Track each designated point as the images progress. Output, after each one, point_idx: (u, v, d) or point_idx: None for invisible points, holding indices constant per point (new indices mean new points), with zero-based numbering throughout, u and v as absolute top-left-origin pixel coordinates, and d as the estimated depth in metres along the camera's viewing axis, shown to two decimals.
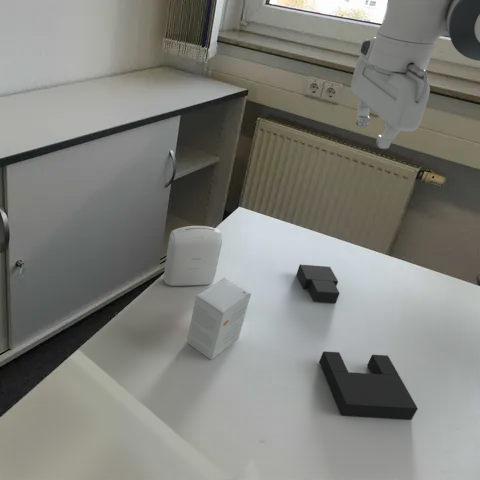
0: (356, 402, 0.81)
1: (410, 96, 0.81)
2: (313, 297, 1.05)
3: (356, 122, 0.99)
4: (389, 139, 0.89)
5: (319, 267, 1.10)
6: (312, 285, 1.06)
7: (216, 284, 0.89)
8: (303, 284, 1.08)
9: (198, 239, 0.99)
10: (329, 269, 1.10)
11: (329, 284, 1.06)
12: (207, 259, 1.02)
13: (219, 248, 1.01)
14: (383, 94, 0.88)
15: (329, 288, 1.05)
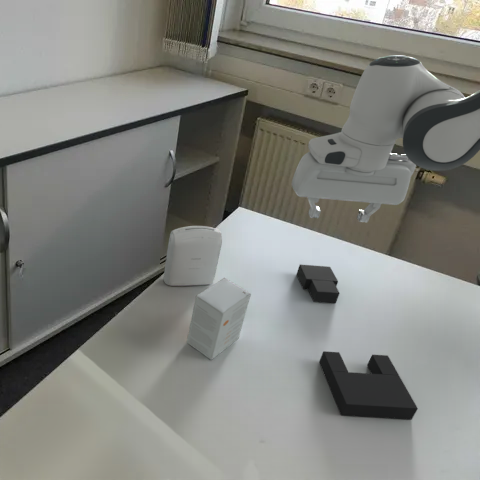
0: (356, 402, 0.81)
1: None
2: (313, 297, 1.05)
3: (313, 216, 1.01)
4: None
5: (319, 267, 1.10)
6: (312, 285, 1.06)
7: (216, 284, 0.89)
8: (303, 284, 1.08)
9: (198, 239, 0.99)
10: (329, 269, 1.10)
11: (329, 284, 1.06)
12: (207, 259, 1.02)
13: (219, 248, 1.01)
14: (370, 185, 0.96)
15: (329, 288, 1.05)
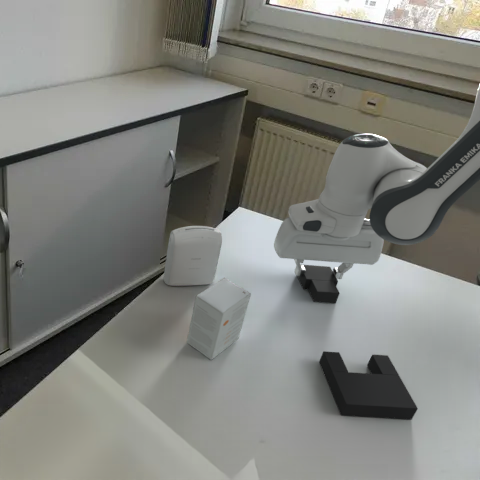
0: (356, 402, 0.81)
1: None
2: (313, 297, 1.05)
3: (299, 275, 1.08)
4: None
5: (319, 267, 1.10)
6: (312, 285, 1.06)
7: (216, 284, 0.89)
8: (303, 284, 1.08)
9: (198, 239, 0.99)
10: (329, 269, 1.10)
11: (329, 284, 1.06)
12: (207, 259, 1.02)
13: (219, 248, 1.01)
14: (346, 248, 1.03)
15: (329, 288, 1.05)
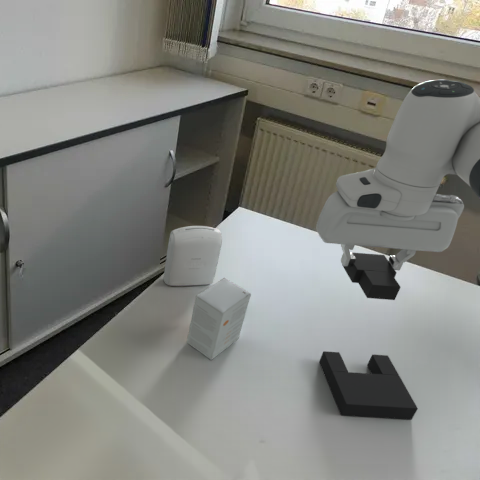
0: (356, 402, 0.81)
1: None
2: (366, 292, 0.84)
3: (347, 265, 0.87)
4: None
5: (371, 255, 0.89)
6: (365, 277, 0.85)
7: (216, 284, 0.89)
8: (352, 276, 0.87)
9: (198, 239, 0.99)
10: (384, 258, 0.89)
11: (387, 276, 0.84)
12: (207, 259, 1.02)
13: (219, 248, 1.01)
14: (409, 230, 0.82)
15: (387, 281, 0.83)
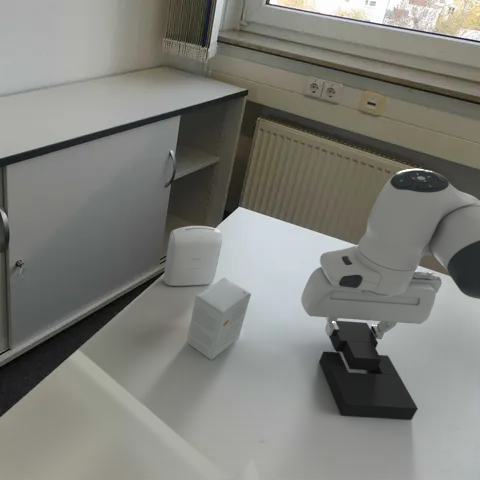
0: (356, 402, 0.81)
1: None
2: (349, 363, 0.87)
3: (331, 334, 0.90)
4: None
5: (354, 324, 0.93)
6: (347, 348, 0.88)
7: (216, 284, 0.89)
8: (336, 345, 0.90)
9: (198, 239, 0.99)
10: (366, 326, 0.92)
11: (368, 347, 0.88)
12: (207, 259, 1.02)
13: (219, 248, 1.01)
14: (389, 305, 0.86)
15: (368, 353, 0.87)
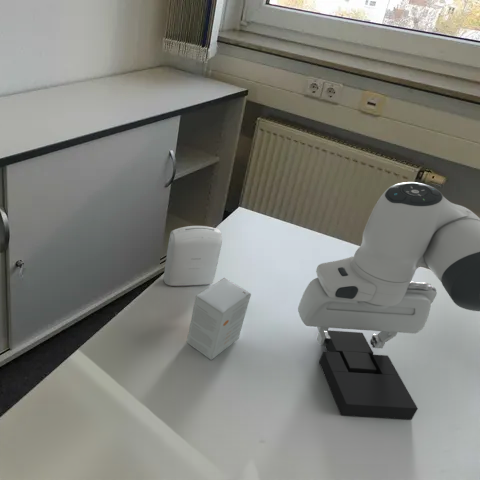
0: (356, 402, 0.81)
1: None
2: None
3: (322, 343, 0.91)
4: None
5: (350, 334, 0.94)
6: (343, 358, 0.89)
7: (216, 284, 0.89)
8: None
9: (198, 239, 0.99)
10: (362, 336, 0.94)
11: (364, 357, 0.89)
12: (207, 259, 1.02)
13: (219, 248, 1.01)
14: (385, 315, 0.87)
15: (363, 363, 0.88)
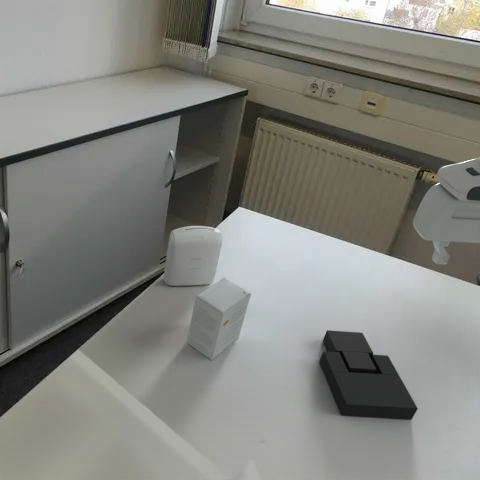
0: (356, 402, 0.81)
1: None
2: None
3: (440, 263, 0.80)
4: None
5: (350, 334, 0.94)
6: (343, 358, 0.89)
7: (216, 284, 0.89)
8: None
9: (198, 239, 0.99)
10: (362, 336, 0.94)
11: (364, 357, 0.89)
12: (207, 259, 1.02)
13: (219, 248, 1.01)
14: None
15: (363, 363, 0.88)
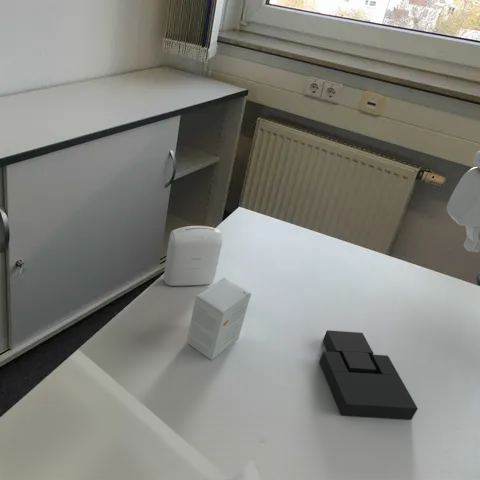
0: (356, 402, 0.81)
1: None
2: None
3: (473, 250, 0.78)
4: None
5: (350, 334, 0.94)
6: (343, 358, 0.89)
7: (216, 284, 0.89)
8: None
9: (198, 239, 0.99)
10: (362, 336, 0.94)
11: (364, 357, 0.89)
12: (207, 259, 1.02)
13: (219, 248, 1.01)
14: None
15: (363, 363, 0.88)
